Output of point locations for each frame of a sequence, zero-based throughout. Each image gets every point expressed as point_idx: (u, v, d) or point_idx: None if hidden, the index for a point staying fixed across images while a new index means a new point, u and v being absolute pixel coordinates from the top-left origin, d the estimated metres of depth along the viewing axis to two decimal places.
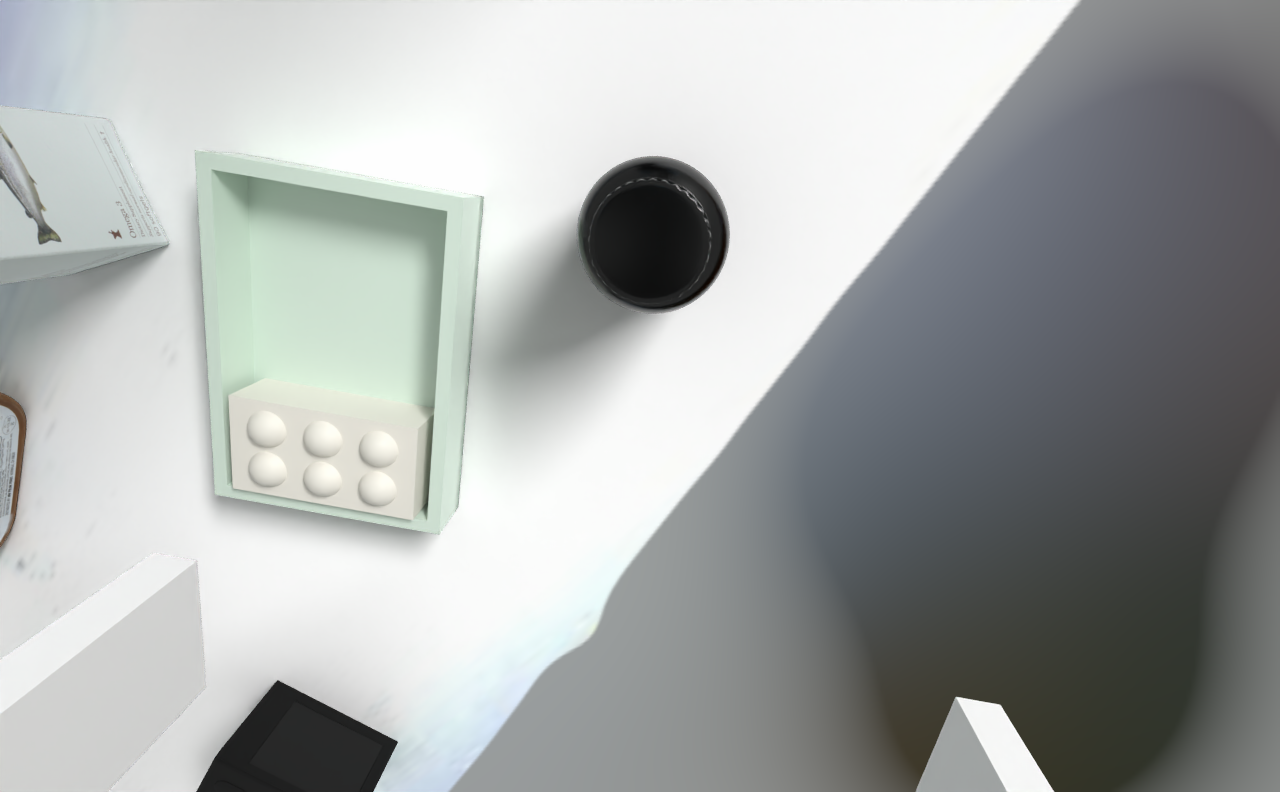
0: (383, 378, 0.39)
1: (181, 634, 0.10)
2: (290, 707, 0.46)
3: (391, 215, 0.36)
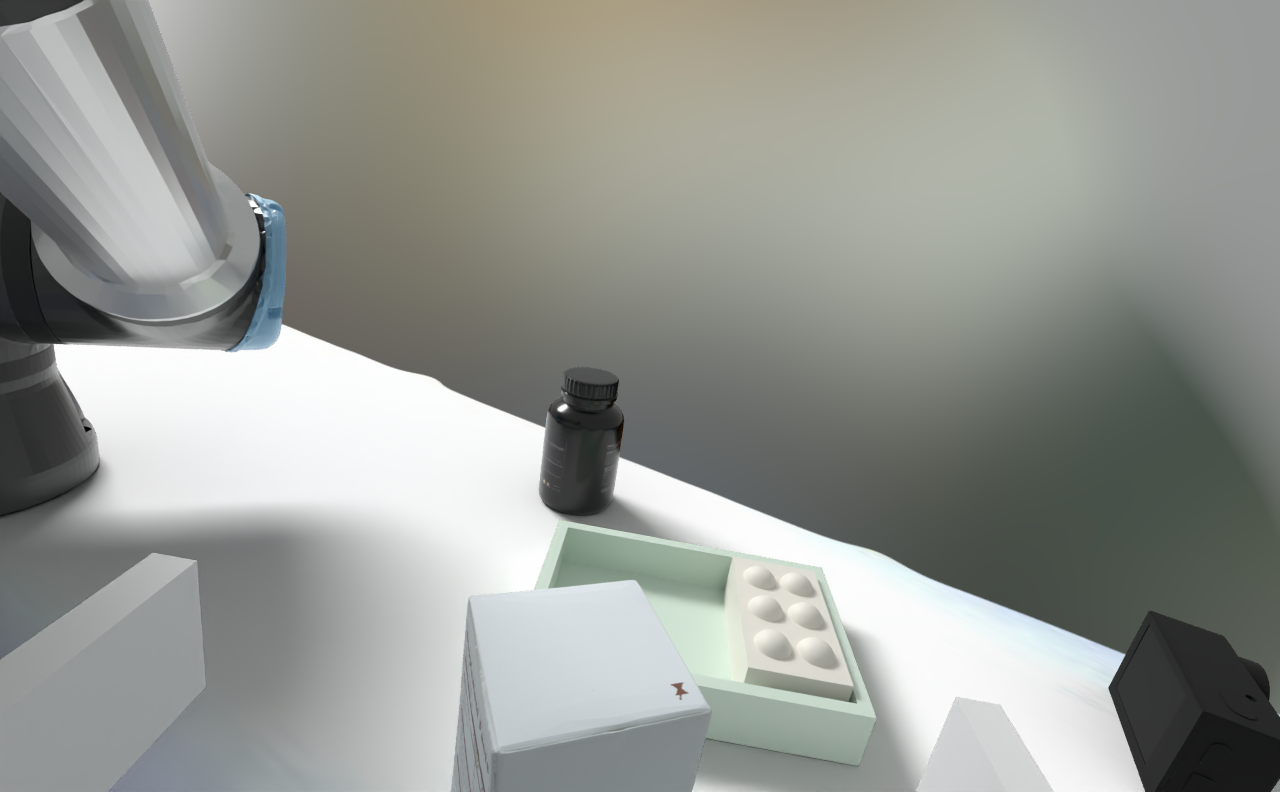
0: (707, 624, 0.43)
1: (181, 634, 0.10)
2: (1150, 757, 0.37)
3: None
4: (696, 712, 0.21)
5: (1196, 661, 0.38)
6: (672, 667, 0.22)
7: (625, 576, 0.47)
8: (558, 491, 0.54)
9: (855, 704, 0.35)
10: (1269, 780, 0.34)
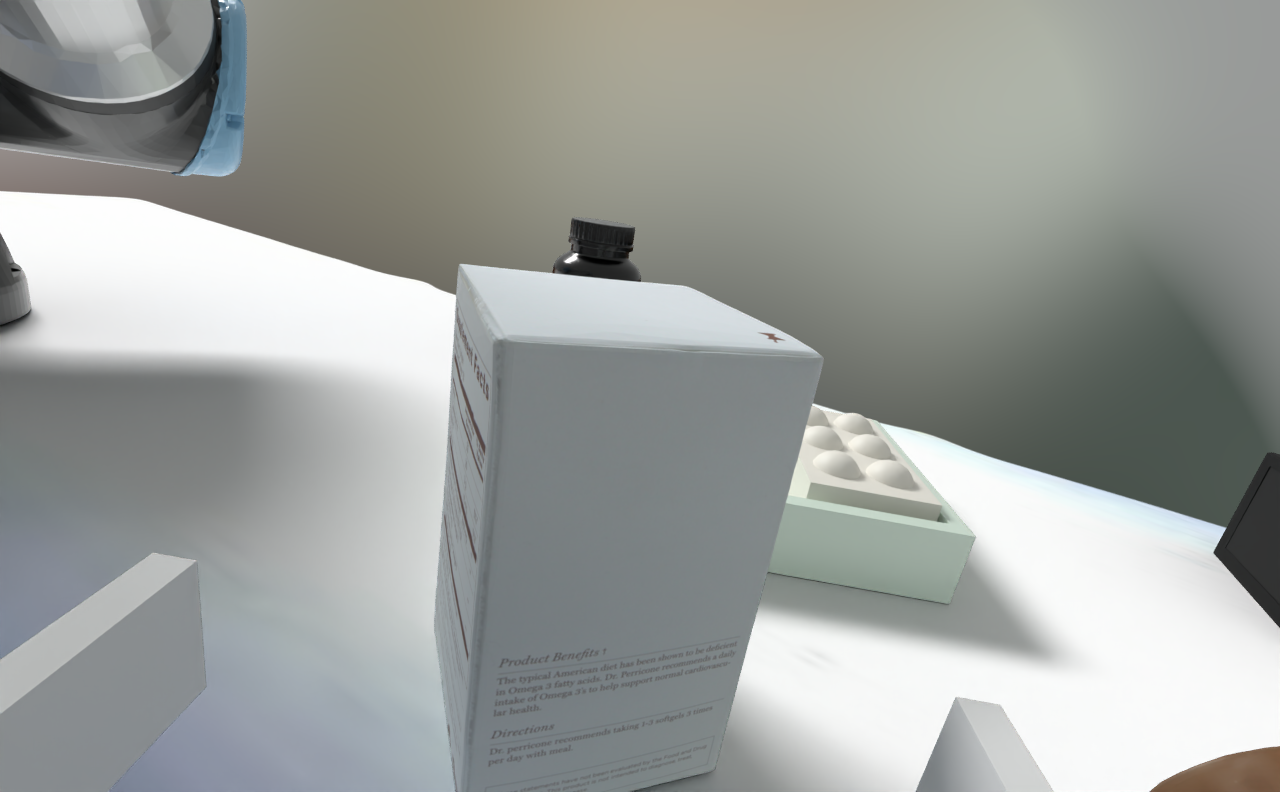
0: None
1: (181, 634, 0.10)
2: None
3: None
4: (801, 355, 0.14)
5: None
6: (755, 325, 0.15)
7: None
8: None
9: (946, 524, 0.28)
10: None
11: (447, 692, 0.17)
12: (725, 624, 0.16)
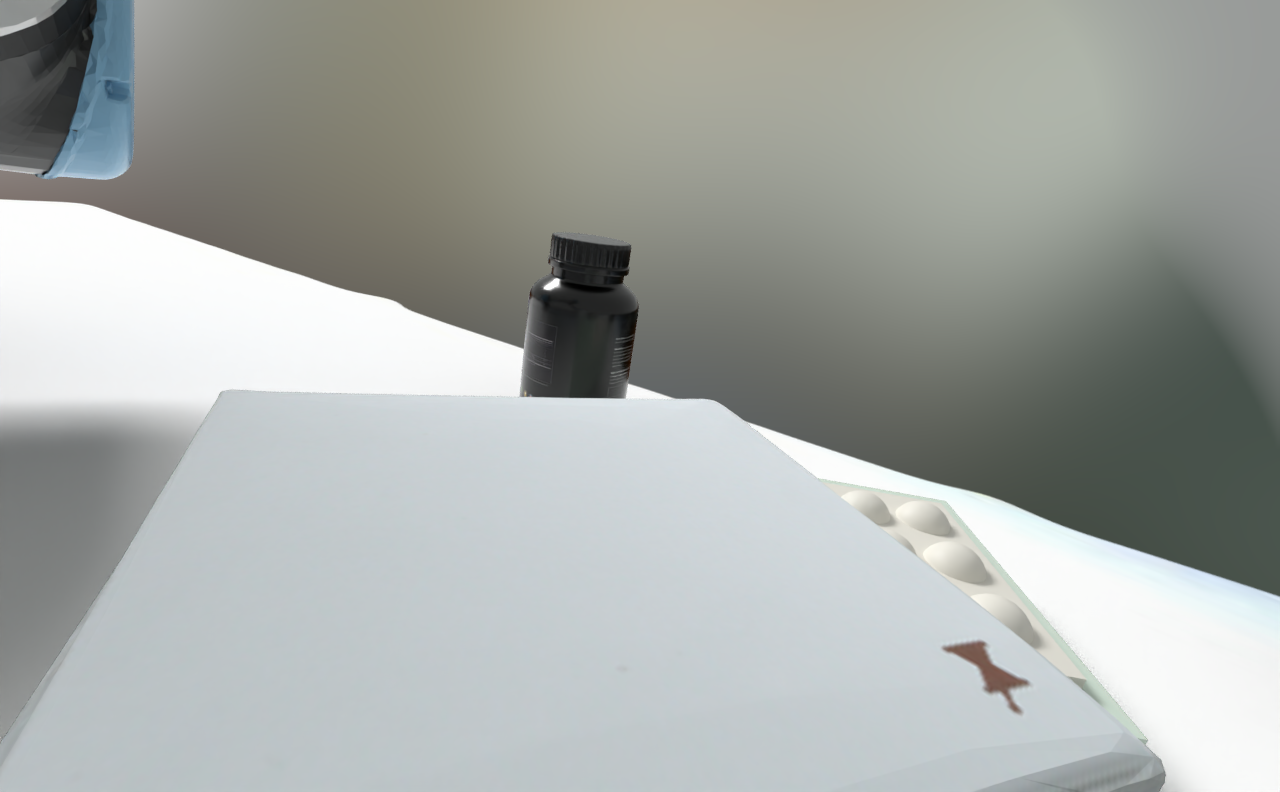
0: None
1: None
2: None
3: None
4: (1111, 773, 0.04)
5: None
6: (913, 588, 0.06)
7: None
8: None
9: None
10: None
11: None
12: None
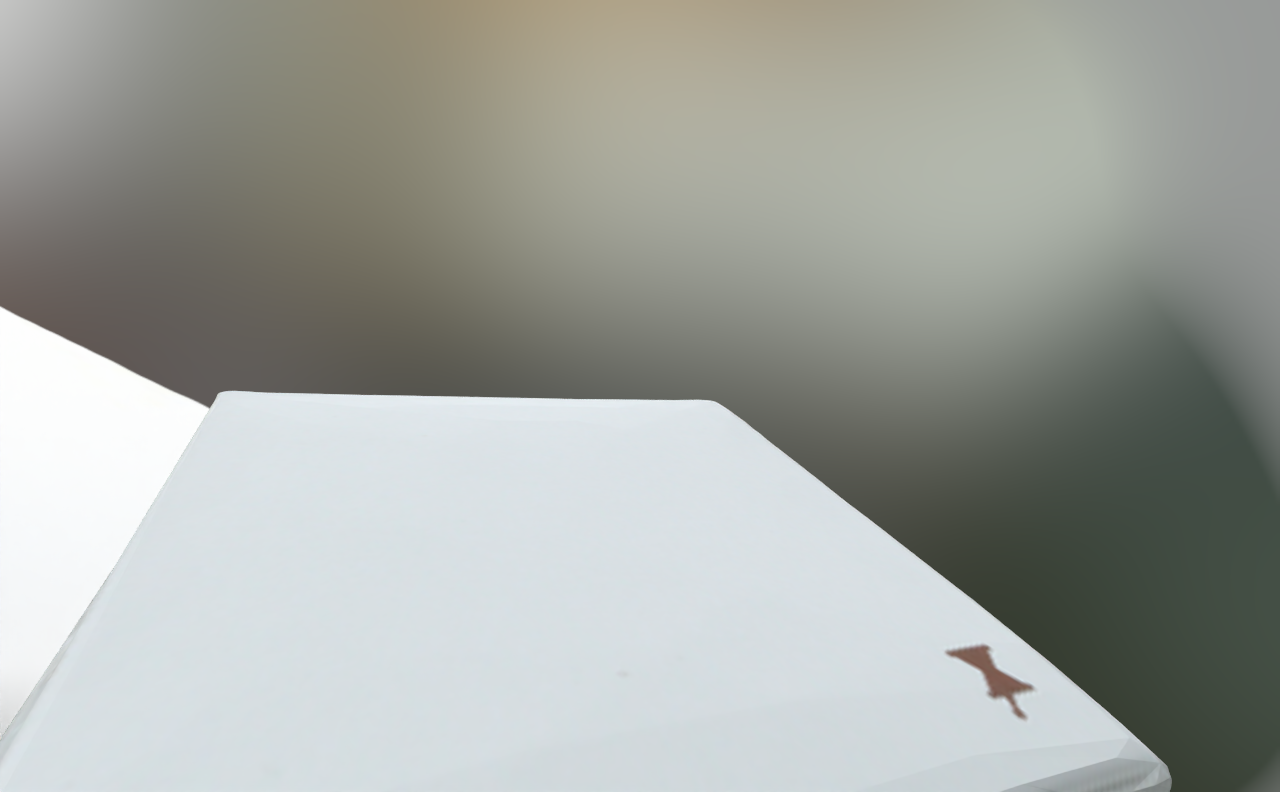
0: None
1: None
2: None
3: None
4: (1117, 779, 0.04)
5: None
6: (916, 592, 0.06)
7: None
8: None
9: None
10: None
11: None
12: None
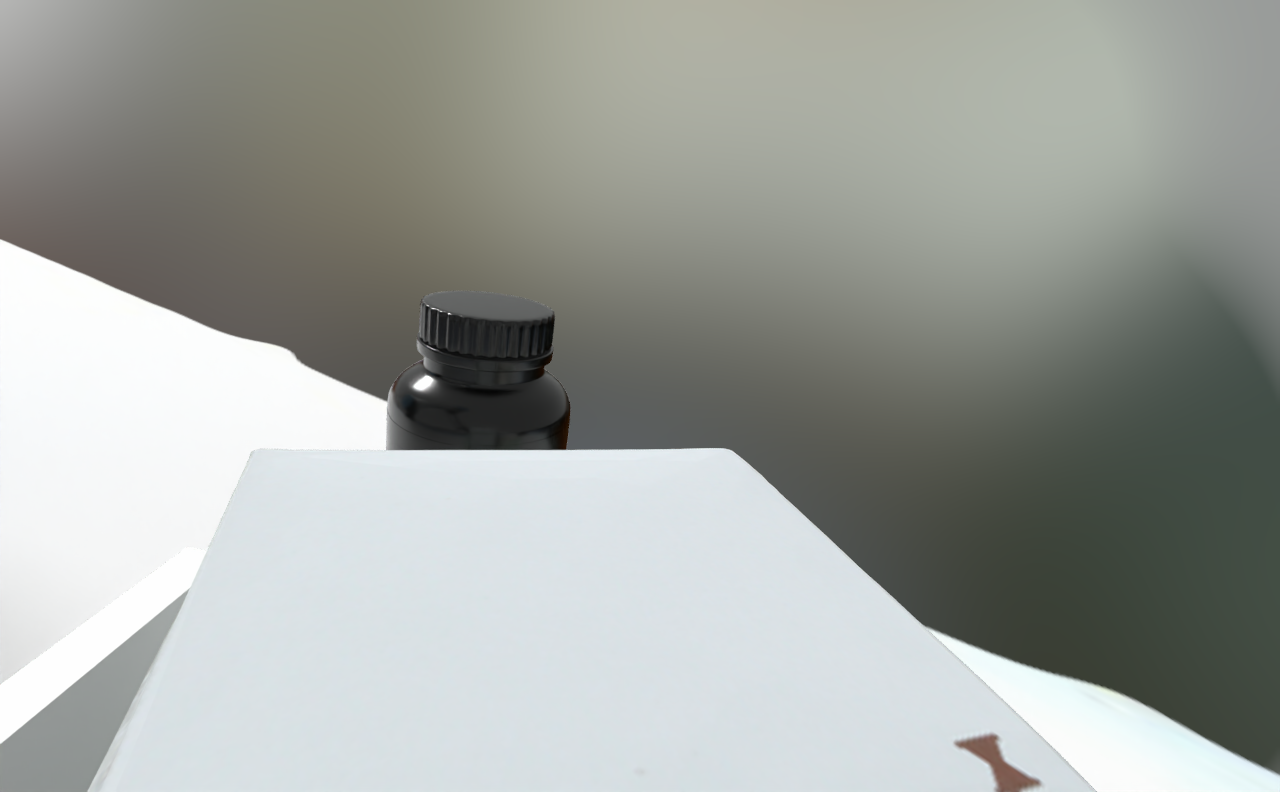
0: None
1: None
2: None
3: None
4: None
5: None
6: (926, 673, 0.06)
7: None
8: None
9: None
10: None
11: None
12: None
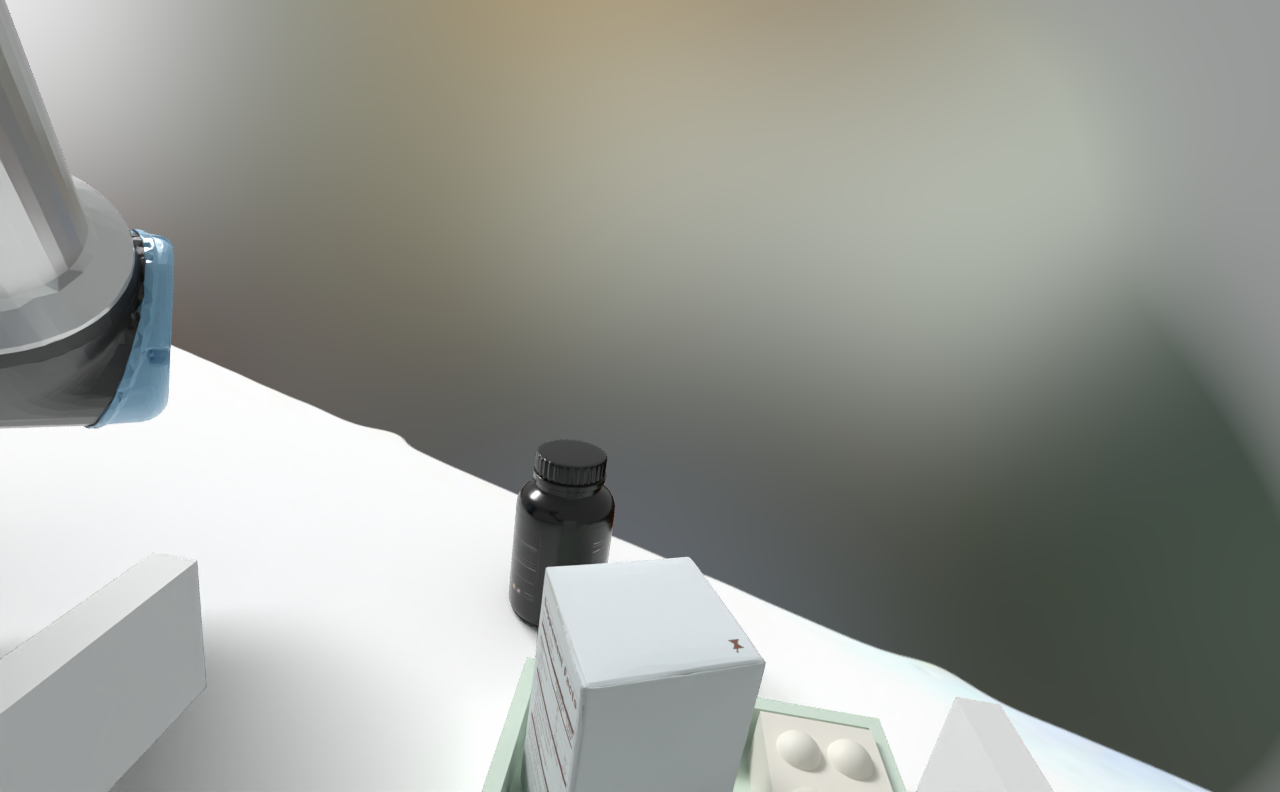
0: None
1: (181, 634, 0.10)
2: None
3: None
4: (751, 663, 0.24)
5: None
6: (728, 627, 0.25)
7: None
8: (531, 601, 0.42)
9: None
10: None
11: None
12: None
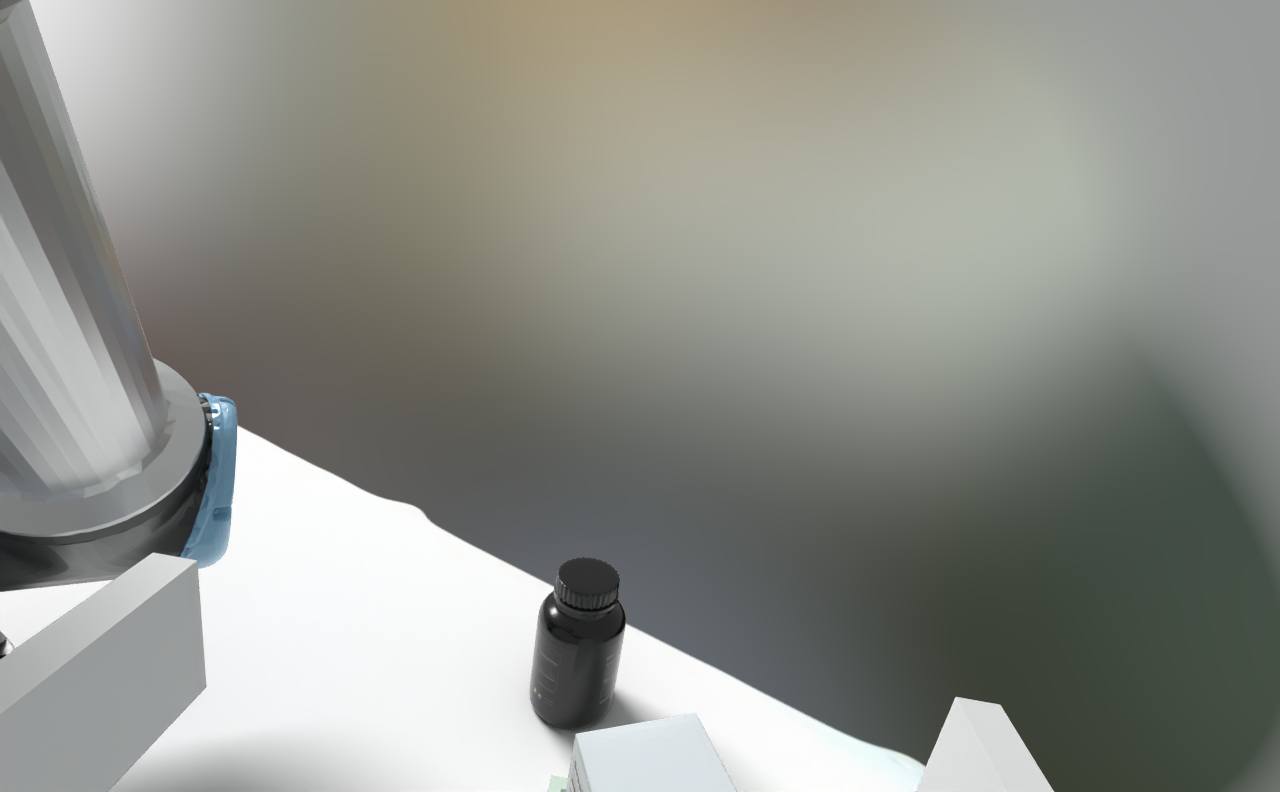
0: None
1: (181, 634, 0.10)
2: None
3: None
4: None
5: None
6: None
7: None
8: (551, 706, 0.48)
9: None
10: None
11: None
12: None
